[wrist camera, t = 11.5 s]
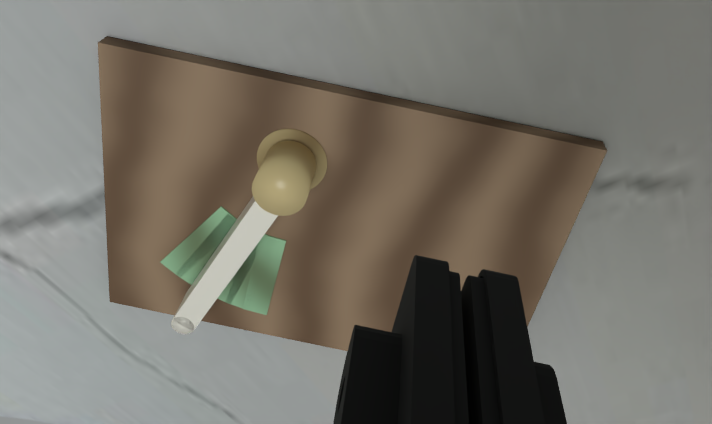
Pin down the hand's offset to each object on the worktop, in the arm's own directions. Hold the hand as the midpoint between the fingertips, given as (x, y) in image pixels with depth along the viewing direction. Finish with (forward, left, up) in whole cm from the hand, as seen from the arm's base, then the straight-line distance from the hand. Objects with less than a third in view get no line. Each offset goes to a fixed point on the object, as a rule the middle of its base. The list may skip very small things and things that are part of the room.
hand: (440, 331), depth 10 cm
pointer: (+9, +18, -26) cm, 32 cm away
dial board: (+3, +17, -27) cm, 32 cm away
